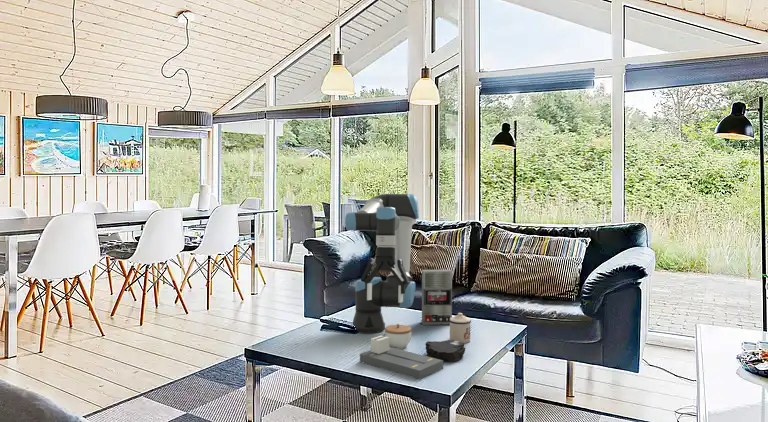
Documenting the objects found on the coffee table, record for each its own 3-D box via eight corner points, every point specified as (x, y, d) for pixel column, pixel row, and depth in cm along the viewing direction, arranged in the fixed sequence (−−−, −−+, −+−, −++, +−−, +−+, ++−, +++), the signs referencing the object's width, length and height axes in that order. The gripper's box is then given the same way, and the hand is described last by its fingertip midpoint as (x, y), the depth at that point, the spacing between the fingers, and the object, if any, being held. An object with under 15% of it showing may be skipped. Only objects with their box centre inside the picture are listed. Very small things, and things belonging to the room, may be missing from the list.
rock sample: (464, 364, 214) (464, 351, 213) (422, 362, 216) (422, 349, 216) (466, 350, 231) (466, 338, 230) (427, 348, 233) (427, 336, 233)
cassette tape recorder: (422, 325, 268) (422, 272, 266) (421, 322, 274) (421, 269, 272) (452, 325, 268) (452, 271, 267) (450, 321, 274) (450, 269, 273)
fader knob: (370, 351, 217) (370, 338, 217) (381, 348, 222) (381, 334, 222) (378, 353, 215) (378, 340, 214) (389, 350, 219) (389, 336, 219)
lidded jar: (414, 344, 238) (414, 321, 237) (406, 351, 228) (406, 328, 227) (389, 341, 242) (389, 319, 241) (381, 349, 231) (381, 326, 231)
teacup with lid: (468, 344, 237) (468, 316, 237) (446, 342, 241) (446, 314, 240) (474, 336, 249) (474, 310, 248) (454, 334, 252) (454, 308, 251)
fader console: (359, 361, 216) (359, 353, 216) (384, 353, 227) (384, 345, 226) (419, 379, 198) (419, 370, 198) (443, 368, 208) (443, 360, 208)
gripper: (352, 245, 227) (352, 299, 227) (411, 247, 216) (410, 304, 216) (362, 245, 234) (361, 297, 233) (418, 247, 223) (418, 302, 222)
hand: (384, 301), depth 225 cm, fingers open, 13 cm apart
